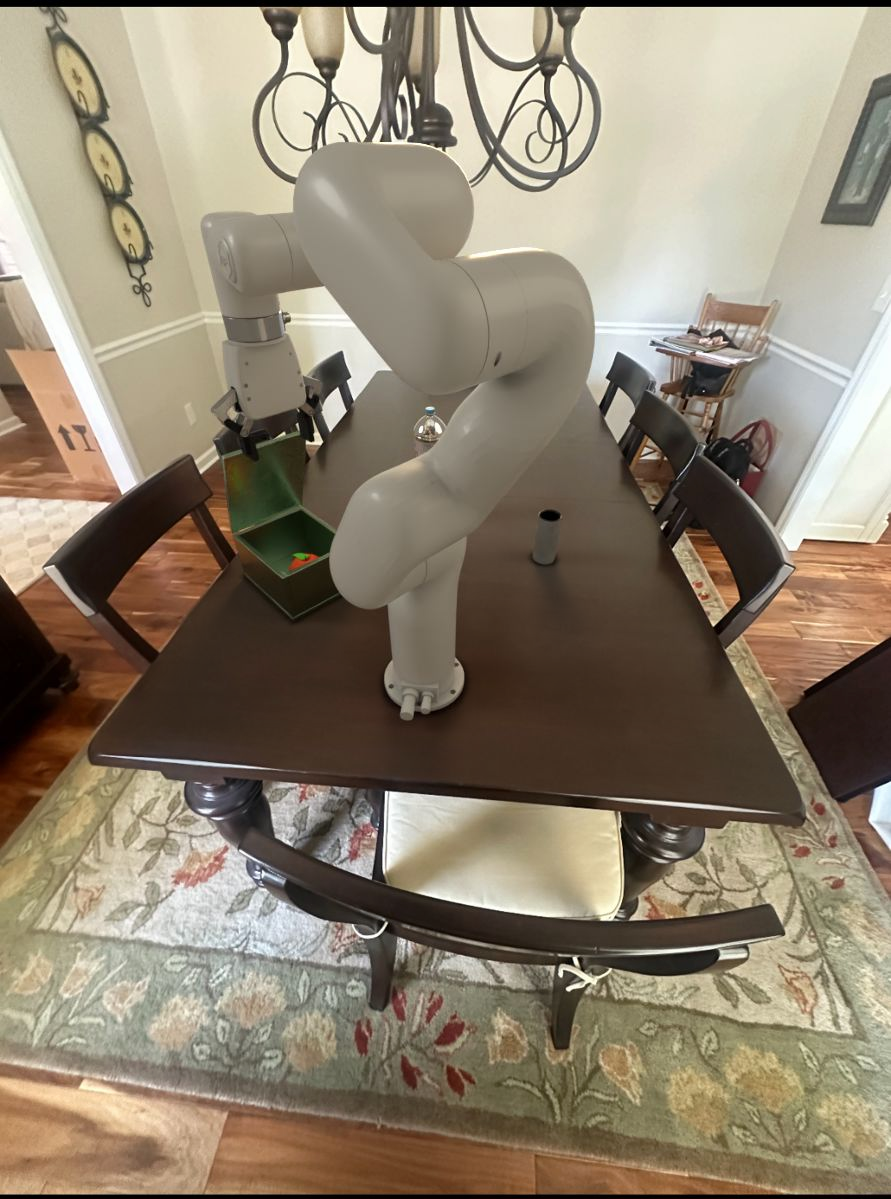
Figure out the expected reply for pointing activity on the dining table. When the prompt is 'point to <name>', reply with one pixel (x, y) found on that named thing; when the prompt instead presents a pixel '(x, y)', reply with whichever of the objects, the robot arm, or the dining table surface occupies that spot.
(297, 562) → the clementine
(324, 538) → the open green keepsake box
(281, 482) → the lid
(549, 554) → the grey cylinder
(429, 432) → the water bottle
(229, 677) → the dining table surface
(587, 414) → the dining table surface
